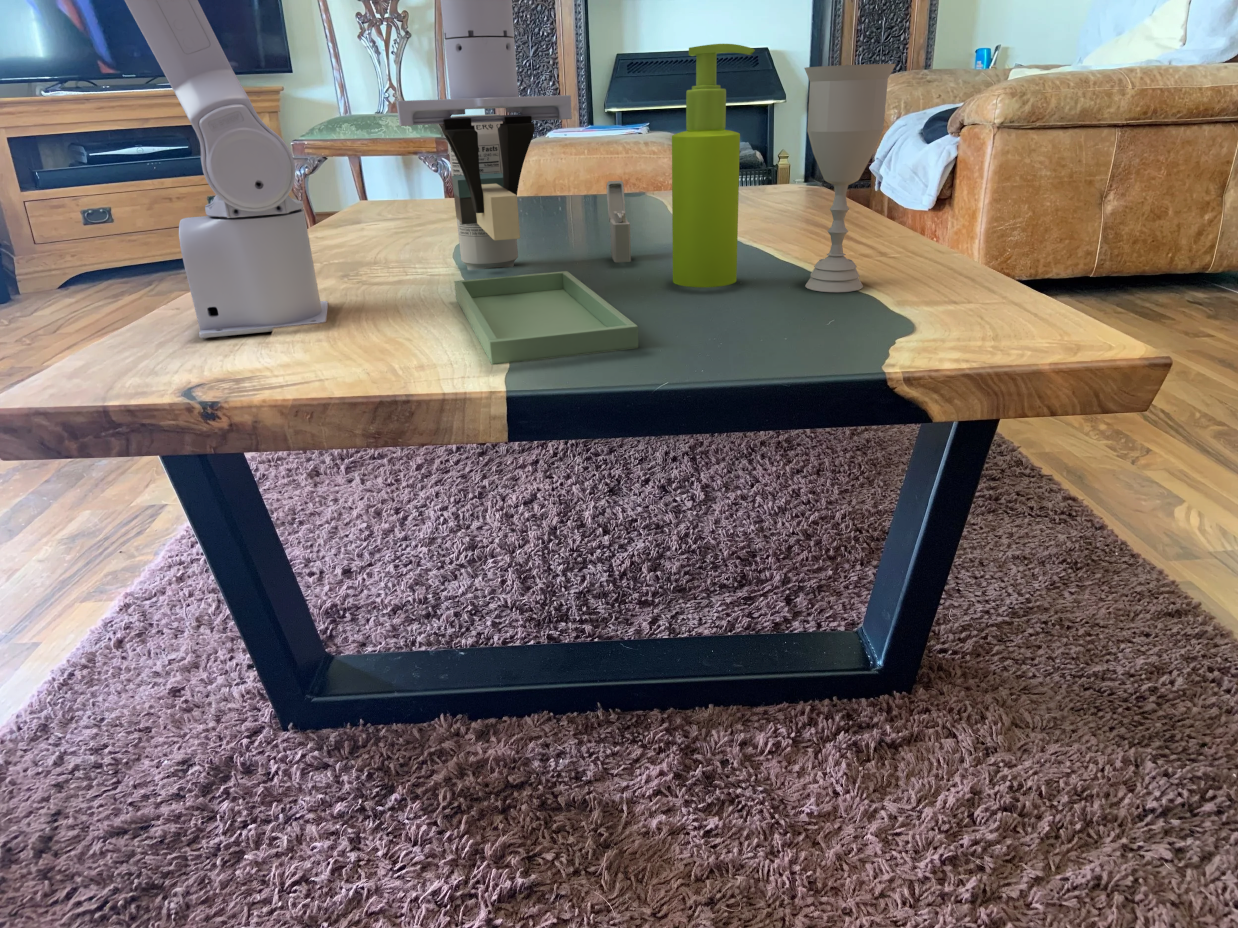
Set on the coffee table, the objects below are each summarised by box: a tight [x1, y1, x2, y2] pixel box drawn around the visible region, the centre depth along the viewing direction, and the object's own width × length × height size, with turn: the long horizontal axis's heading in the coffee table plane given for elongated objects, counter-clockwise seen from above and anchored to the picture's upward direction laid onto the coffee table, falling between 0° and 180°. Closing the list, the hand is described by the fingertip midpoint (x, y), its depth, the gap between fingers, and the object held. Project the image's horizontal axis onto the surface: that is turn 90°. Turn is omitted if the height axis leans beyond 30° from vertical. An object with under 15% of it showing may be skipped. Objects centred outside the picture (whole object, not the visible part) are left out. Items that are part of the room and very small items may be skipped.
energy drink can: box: [447, 113, 519, 271], centre depth 86 cm, size 6×6×15 cm
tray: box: [453, 270, 639, 366], centre depth 65 cm, size 21×10×2 cm, turn 17°
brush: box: [451, 173, 521, 241], centre depth 76 cm, size 16×5×4 cm, turn 16°
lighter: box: [606, 180, 632, 263], centre depth 89 cm, size 7×2×8 cm, turn 6°
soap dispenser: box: [671, 43, 756, 288], centre depth 73 cm, size 6×7×20 cm
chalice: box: [803, 63, 897, 293], centre depth 72 cm, size 7×7×18 cm
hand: (494, 211), depth 74 cm, fingers closed on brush, 2 cm apart
